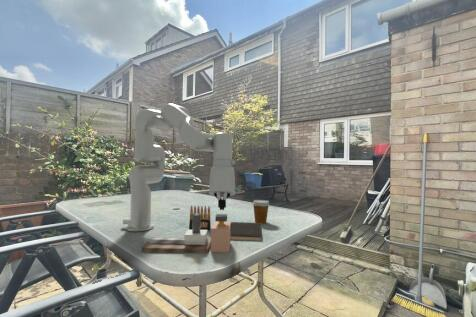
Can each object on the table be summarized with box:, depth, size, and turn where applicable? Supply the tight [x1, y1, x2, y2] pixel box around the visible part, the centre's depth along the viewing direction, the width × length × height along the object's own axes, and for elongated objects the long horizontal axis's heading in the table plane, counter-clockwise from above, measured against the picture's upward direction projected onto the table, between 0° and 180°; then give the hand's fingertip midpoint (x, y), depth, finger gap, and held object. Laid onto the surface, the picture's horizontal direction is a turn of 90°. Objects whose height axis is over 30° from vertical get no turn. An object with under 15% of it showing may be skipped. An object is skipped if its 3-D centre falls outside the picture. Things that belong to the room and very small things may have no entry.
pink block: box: [210, 221, 232, 253], centre depth 95 cm, size 7×10×9 cm
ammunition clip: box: [188, 204, 212, 231], centre depth 119 cm, size 11×2×12 cm, turn 88°
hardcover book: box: [230, 221, 262, 241], centre depth 116 cm, size 16×23×2 cm
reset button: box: [214, 213, 228, 226], centre depth 95 cm, size 4×4×5 cm
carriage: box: [183, 213, 208, 245], centre depth 95 cm, size 8×7×11 cm
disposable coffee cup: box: [252, 199, 270, 224], centre depth 135 cm, size 10×10×12 cm
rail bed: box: [141, 237, 211, 254], centre depth 95 cm, size 25×12×3 cm, turn 90°
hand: (222, 209), depth 95 cm, fingers closed
